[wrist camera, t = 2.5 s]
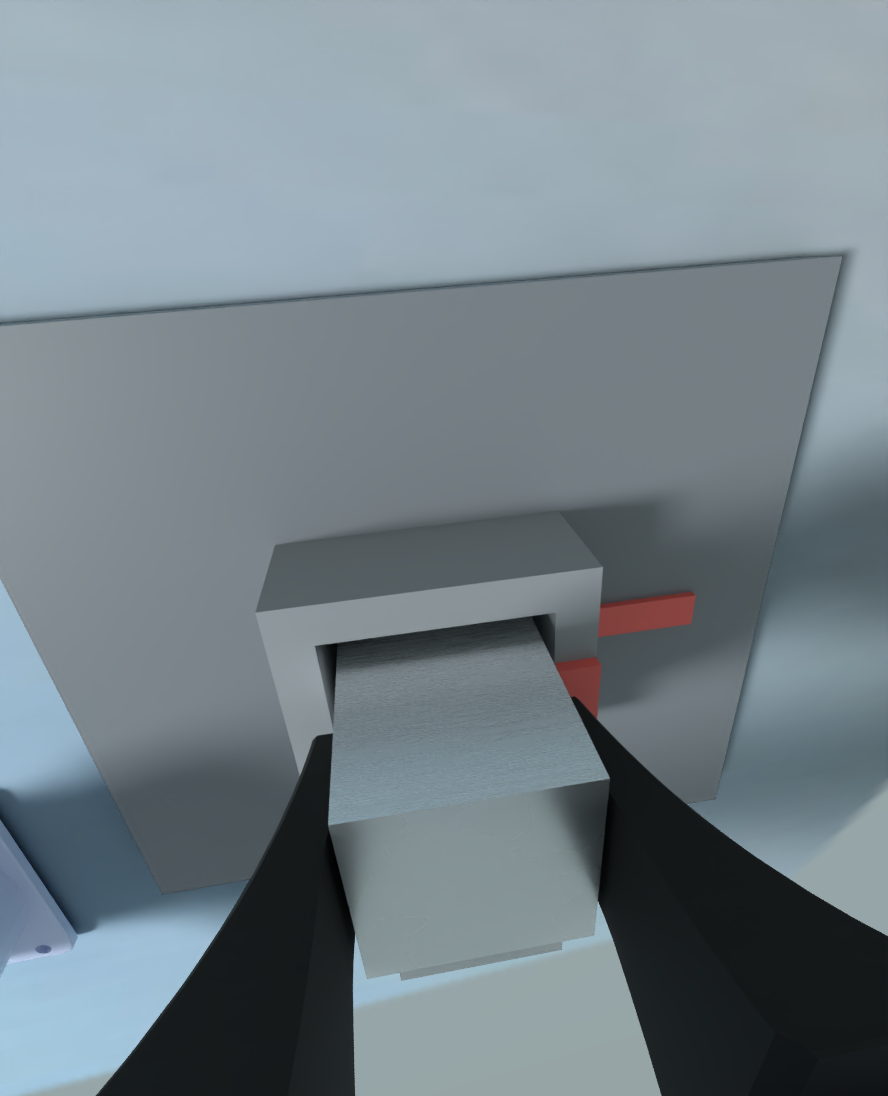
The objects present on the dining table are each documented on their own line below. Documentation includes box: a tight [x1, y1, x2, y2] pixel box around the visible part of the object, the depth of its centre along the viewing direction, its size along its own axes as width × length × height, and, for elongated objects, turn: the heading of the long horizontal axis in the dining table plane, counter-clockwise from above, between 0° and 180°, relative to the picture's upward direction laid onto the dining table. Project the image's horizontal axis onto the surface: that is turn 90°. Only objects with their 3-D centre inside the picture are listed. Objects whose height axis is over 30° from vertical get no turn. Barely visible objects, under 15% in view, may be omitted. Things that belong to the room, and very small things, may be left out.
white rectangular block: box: [328, 616, 610, 981], centre depth 13 cm, size 5×5×7 cm
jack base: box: [0, 256, 843, 895], centre depth 15 cm, size 20×18×4 cm
